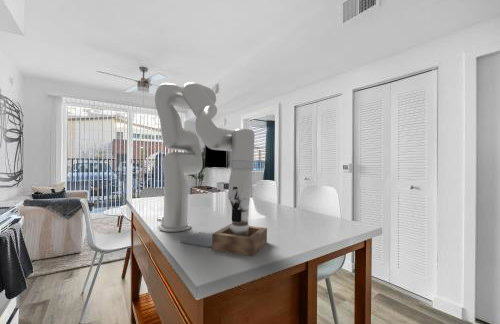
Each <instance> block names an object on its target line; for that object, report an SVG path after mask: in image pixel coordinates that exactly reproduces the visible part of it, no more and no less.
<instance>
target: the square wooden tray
mask: <svg viewBox="0 0 500 324" xmlns="http://www.w3.org/2000/svg"><path fill="white" fill-rule="evenodd" d="M231 224H232V223H229V224H228V225H225V226H224V227H222V228H220V229H218V230H216V231H214V232H212V233H211V234H212V247H211V250H212V251H213V250H215V251H220V252H225V253H226V252H227V253H231V254H237V255H243V256H244V255H245V256H248V257H249V256H250V257H254V256H255V255H256V254H257V253H258V252H259V251H260V250H261V249H262V248H263V247H264V246H265V245H266V244H267V243H266V242H268V227H259V226H252V225H249V235H248V237H247V236H240V235H233V234H231V233H230V227H231ZM265 243H266V244H265ZM264 244H265V245H264Z"/></svg>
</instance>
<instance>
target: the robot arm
mask: <svg viewBox="0 0 500 324" xmlns="http://www.w3.org/2000/svg"><path fill="white" fill-rule="evenodd" d="M154 94H155V95H154V105H155V109H156V112H157V115H158V118H159V124H160V130H161V137H162V143H163V145H164V147H165V148H166V149H167V150H172V152H168V153H167V154H165V155H164V156H163V158H162V162H161V165H162V170H163V177H164V178H163V179H164V180H163V181H164V182H163V183H164V186H163V187H164V188H163V189H164V193H163V195H164V197H163V215H160V216H159V217H158V218H157V219H156V221H157V222H160V223H161V224H160V225H159V227H158V228H159V230H160V231H162V232H168V233H175V232H176V233H177V232H183V231H188V230H190V229H191V228H192V224H191V223H190V222H188V215H189V214H188V213H189V210H188V209H189V207H188V204H189V203H188V202H189V183H188V179H187V178H186V176H187V175H197V174H199V173H200V172H202V169H203V156H202V151H201V150H202V149H201V144H200V139H201V142H203V144H204V146H206V148H208V149H210V150H213V151H224V152H231V161H230V175H229V179H228V190H227V194H228V195H227V198H228V200H229V202H230V205H231V222H232V221H234V222H241V213H242V210H240V209H241V201H242V200H244V196H245V193H246V191H247V190H249V192H250V198H251V196H252V191H253V190H252V189H253V186H252V185H253V176H252V171H254V158H255V157H254V156H255V139H256V138H255V135H256V134H255V131H254V130H252V129H248V128H235V129H234V130H230V129H226V128H221V127H217V126H216V124H215V123H214V122H213V119H214V118H215V117H216V115H217V112H218V107H217V106H216V102H217V95H216V93H215V91H214V90H213V89H212V88H210V87H208V86H205V85H203V84H201V83H197V82H193V81H191V82H186V83H184V85H183V86H182V85H181V86H180V85H178V84H174V83H169V82H163V83H161V84H160V85H159V86H158V87H156V91H155V93H154ZM175 106H176V107H179V108H183V109H187V110H191V112H193V114H194V116H195V117H196V119H195V130H196V132H195V131H193V130H190V129H186V128H183V126H182V120H181V119H182V118H181V116H180V114H179V113H178V110H176V108H175ZM198 136H199V137H198ZM199 138H200V139H199ZM180 151H182V152H180ZM236 197H239V200H236ZM237 202H239V204H238V203H237ZM249 207H250V206H249ZM249 207H248V212H249V210H250V209H249Z"/></svg>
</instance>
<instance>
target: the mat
mask: <svg viewBox="0 0 500 324" xmlns="http://www.w3.org/2000/svg"><path fill="white" fill-rule="evenodd" d="M212 234H213V233H207V232H203V231H199V232H196V233H195V234H193V235H191V236H189V237H186V238H184V239H181V240H180V243H181V244H187V245H192V246H199V247H203V248H204V247H205V248H210V249H212Z"/></svg>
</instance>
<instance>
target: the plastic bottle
mask: <svg viewBox="0 0 500 324" xmlns="http://www.w3.org/2000/svg"><path fill="white" fill-rule="evenodd" d="M236 200H239V197H236ZM250 200H251V197H250V192H249V190H247V191H246V193H245V196H244V200H242V201H241V209H240V210H242V213H241V222H234V221H232V220H231V223H230V224H231V227H230V233H231V234H233V235H240V236H247V237H248V235H249V226H250V225H249V211H248V207H250ZM237 203H238V204H239V202H237Z"/></svg>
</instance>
